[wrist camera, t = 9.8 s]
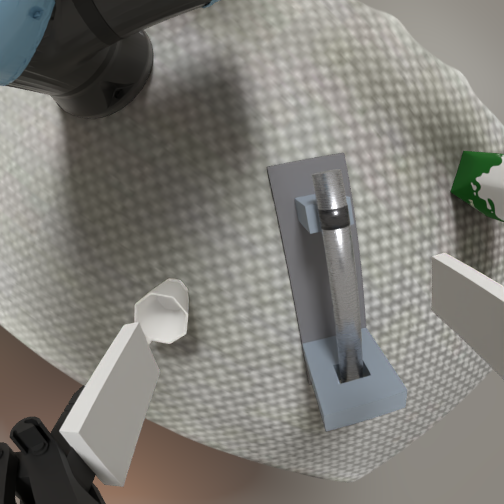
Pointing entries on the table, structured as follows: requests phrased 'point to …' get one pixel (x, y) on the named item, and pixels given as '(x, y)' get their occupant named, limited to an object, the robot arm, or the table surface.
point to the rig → (328, 301)
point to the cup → (164, 312)
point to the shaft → (340, 270)
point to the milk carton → (481, 182)
